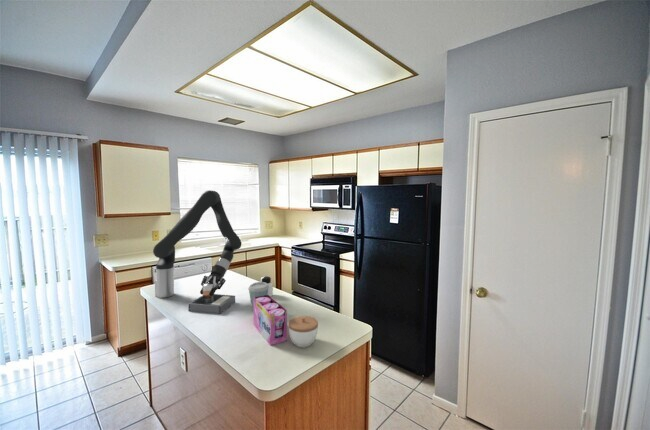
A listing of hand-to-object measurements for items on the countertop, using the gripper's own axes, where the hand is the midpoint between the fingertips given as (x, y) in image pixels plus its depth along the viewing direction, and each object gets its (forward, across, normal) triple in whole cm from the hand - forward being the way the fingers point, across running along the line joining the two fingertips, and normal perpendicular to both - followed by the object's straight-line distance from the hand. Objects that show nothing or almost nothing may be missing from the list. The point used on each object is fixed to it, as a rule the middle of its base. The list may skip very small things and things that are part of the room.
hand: (206, 294), depth 149 cm
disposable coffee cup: (+1, +28, +12) cm, 30 cm away
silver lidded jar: (+2, 0, +5) cm, 5 cm away
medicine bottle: (-15, +19, +27) cm, 36 cm away
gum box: (+13, +45, -1) cm, 47 cm away
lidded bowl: (+15, +63, -3) cm, 65 cm away
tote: (+4, +3, +7) cm, 9 cm away
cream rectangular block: (+3, +8, +7) cm, 11 cm away
